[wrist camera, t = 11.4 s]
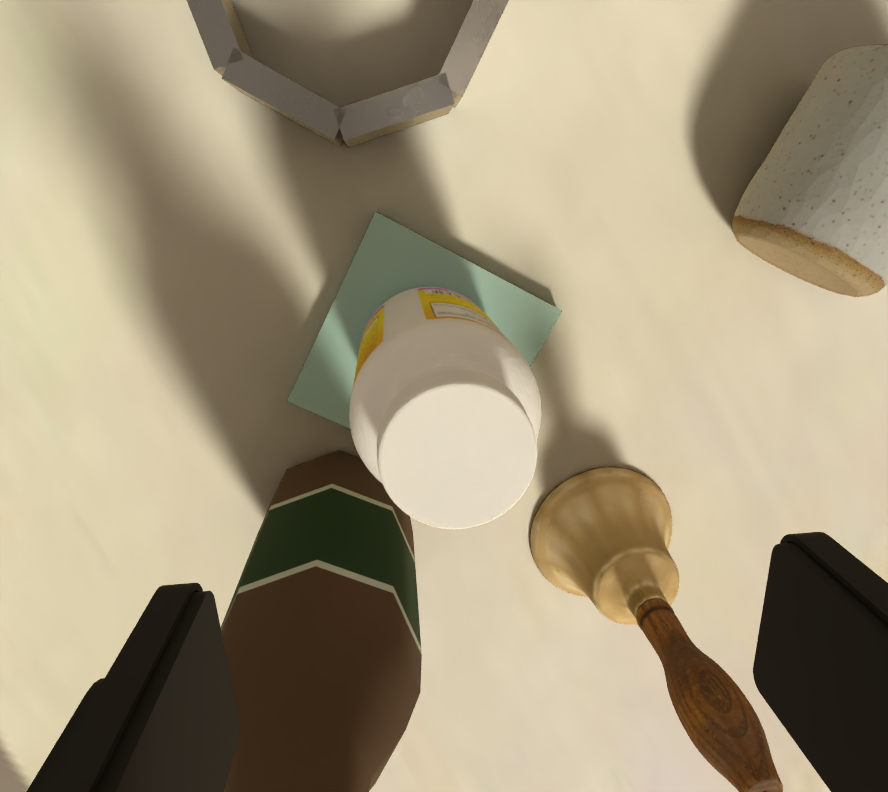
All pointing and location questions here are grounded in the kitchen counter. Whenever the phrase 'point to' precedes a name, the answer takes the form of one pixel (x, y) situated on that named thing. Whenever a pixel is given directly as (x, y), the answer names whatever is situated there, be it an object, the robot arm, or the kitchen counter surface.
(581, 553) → the hand bell
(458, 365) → the supplement bottle
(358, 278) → the pad
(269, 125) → the kitchen counter surface
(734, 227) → the ceramic mug
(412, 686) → the beer bottle
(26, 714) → the kitchen counter surface
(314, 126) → the collar
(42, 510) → the kitchen counter surface
